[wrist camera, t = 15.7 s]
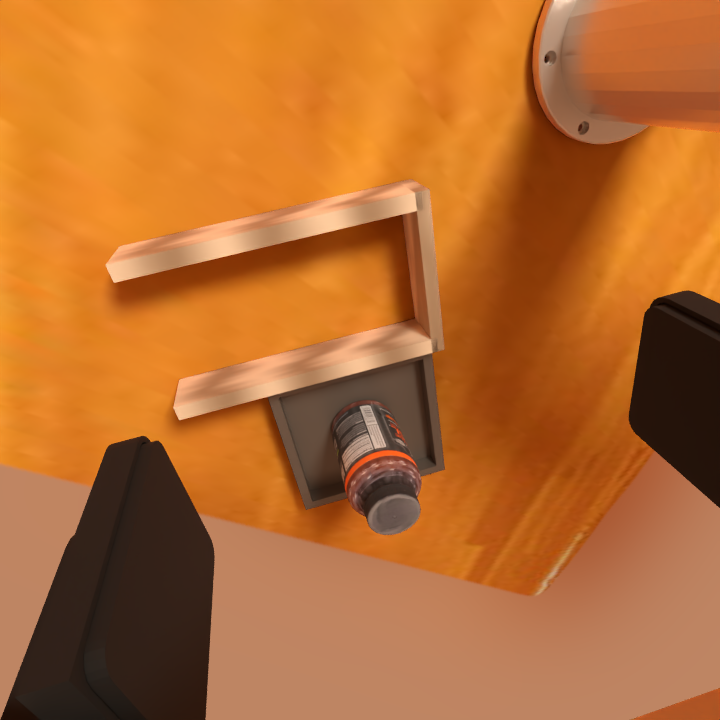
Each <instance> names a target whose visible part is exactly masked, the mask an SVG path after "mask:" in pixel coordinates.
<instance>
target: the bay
mask: <svg viewBox="0 0 720 720" xmlns="http://www.w3.org/2000/svg"><path fill="white" fill-rule="evenodd" d="M398 215H402V218H403V226H404V234H405V242H406V249H407V257H408V265H409V273H410V281H411V289H412V297H413V305H414V313H415V319H411V320H407V321H403V322H400V323H396V324H392V325H388V326H384V327H380V328H376V329H373V330H369V331H365V332H361V333H357V334H353V335H349V336H346V337H342V338H338V339H334V340H330V341H326V342H322V343H319V344H315V345H311V346H307V347H303V348H299V349H295V350H291V351H288V352H284V353H280V354H276V355H272V356H268V357H264V358H261V359H257V360H253V361H249V362H245V363H241V364H237V365H234V366H230V367H226V368H222V369H218V370H214V371H210V372H207V373H203V374H199V375H195V376H191V377H187V378H183V379H179V383H178V388H177V393H176V398H175V402H174V407H173V408H174V410H175V412H176V414H177V416H178V419H179V420H182V419H186V418H190V417H194V416H197V415H201V414H205V413H209V412H212V411H216V410H220V409H224V408H227V407H231V406H235V405H239V404H242V403H246V402H250V401H254V400H257V399H261V398H265V397H269V396H272V395H276V394H280V393H284V392H287V391H291V390H295V389H299V388H302V387H306V386H310V385H314V384H317V383H321V382H325V381H329V380H332V379H336V378H340V377H344V376H347V375H351V374H355V373H359V372H362V371H366V370H370V369H374V368H377V367H381V366H385V365H389V364H392V363H396V362H400V361H404V360H407V359H411V358H415V357H419V356H422V355H426V354H430V353H434V352H437V351H441V350H445V349H444V339H443V328H442V317H441V307H440V296H439V286H438V275H437V264H436V254H435V243H434V232H433V222H432V211H431V201H430V190H429V189H428V188H426V187H424V186H423V185H421V184H419V183H417V182H415V181H414V180H412V179H409V180H405V181H401V182H396V183H392V184H388V185H383V186H379V187H375V188H370V189H366V190H362V191H357V192H353V193H349V194H344V195H340V196H336V197H331V198H327V199H323V200H318V201H314V202H310V203H305V204H301V205H297V206H292V207H288V208H284V209H279V210H275V211H271V212H266V213H262V214H258V215H253V216H249V217H245V218H240V219H236V220H232V221H227V222H223V223H219V224H214V225H210V226H206V227H201V228H197V229H193V230H188V231H184V232H180V233H175V234H171V235H167V236H162V237H158V238H154V239H149V240H145V241H141V242H136V243H132V244H128V245H123V246H119V248H118V249H117V250H116V252H115V253H114V254H113V256H112V257H111V258H110V260H109V261H108V262H107V264H106V267H107V269H108V271H109V273H110V276H111V278H112V280H113V282H114V283H116V282H120V281H124V280H128V279H132V278H137V277H141V276H145V275H149V274H153V273H158V272H162V271H166V270H170V269H175V268H179V267H183V266H187V265H191V264H196V263H200V262H204V261H208V260H212V259H217V258H221V257H225V256H229V255H234V254H238V253H242V252H246V251H250V250H255V249H259V248H263V247H267V246H271V245H276V244H280V243H284V242H288V241H293V240H297V239H301V238H305V237H309V236H314V235H318V234H322V233H326V232H330V231H335V230H339V229H343V228H347V227H351V226H356V225H360V224H364V223H368V222H373V221H377V220H381V219H385V218H389V217H394V216H398Z"/></svg>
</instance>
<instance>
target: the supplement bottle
mask: <svg viewBox="0 0 720 720" xmlns="http://www.w3.org/2000/svg"><path fill="white" fill-rule="evenodd" d="M332 438H333V443H334V447H335V451H336V455H337V459H338V463H339V467H340V471H341V475H342V479H343V483H344V487H345V491H346V494H347V498H348V500H349V502H350V504H351V506H352V507H353V508H354V509H355V510H356V511H357V512H358V513H359V514H361V515H363V516H365V517H366V518H367V522H368V524H369V526H370V528H371V529H372V530H373V531H374V532H376V533H379V534H383V535H393V534H397V533H401V532H403V531H405V530H407V529H408V528H410V527H411V526H412V525H413V524H414V523H415V522H416V521H417V520H418V518H419V515H420V510H421V509H420V504H419V502H418V499H417V497H418V494H419V492H420V489H421V476H420V473H419V470H418V468H417V465H416V463H415V461H414V458H413V456H412V455H411V452H410V450H409V448H408V446H407V444H406V442H405V439H404V437H403V435H402V433H401V431H400V429H399V426H398V424H397V422H396V420H395V417H394V416H393V414H392V413H391V411H390V410H389V409H388V408H387V407H386V406H385V405H383V404H382V403H380V402H377V401H374V400H362V401H357V402H354V403H351V404H349V405H348V406H346V407H344V408H343V409H342V410H341V411H340V412H339V413H338V414H337V416H336V417H335V419H334V421H333V424H332Z"/></svg>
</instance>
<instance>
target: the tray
mask: <svg viewBox="0 0 720 720" xmlns="http://www.w3.org/2000/svg"><path fill="white" fill-rule="evenodd" d="M268 399H269V402H270V405H271V408H272V411H273V414H274V417H275V420H276V423H277V426H278V429H279V432H280V435H281V438H282V440H283V443H284V446H285V449H286V452H287V455H288V458H289V461H290V464H291V467H292V470H293V473H294V476H295V479H296V482H297V485H298V487H299V490H300V493H301V496H302V499H303V502H304V505H305V508H306V510H308V509H311V508H314V507H318V506H321V505H325V504H328V503H332V502H335V501H339V500H342V499H345V498H347V494H346V491H345V487H344V483H343V479H342V475H341V471H340V467H339V463H338V459H337V455H336V451H335V447H334V443H333V438H332V424H333V421H334V419H335V417H336V416H337V414H338V413H339V412H340V411H341V410H342V409H343V408H344V407H346V406H348V405H349V404H351V403H354V402H357V401H362V400H374V401H377V402H380V403H382V404H383V405H385V406H386V407H387V408H388V409H389V410H390V411H391V413H392V414H393V416H394V417H395V420H396V422H397V424H398V426H399V429H400V431H401V433H402V435H403V437H404V439H405V442H406V444H407V446H408V448H409V450H410V452H411V455H412V456H413V458H414V461H415V463H416V465H417V468H418V470H419V473H420V476H424V475H428V474H431V473H435V472H438V471H442V470H445V467H444V458H443V449H442V440H441V431H440V422H439V413H438V404H437V395H436V386H435V377H434V368H433V359H432V353H430V354H426V355H422V356H419V357H415V358H411V359H407V360H404V361H400V362H396V363H392V364H389V365H385V366H381V367H377V368H374V369H370V370H366V371H362V372H359V373H355V374H351V375H347V376H344V377H340V378H336V379H332V380H329V381H325V382H321V383H317V384H314V385H310V386H306V387H302V388H299V389H295V390H291V391H287V392H284V393H280V394H276V395H272V396H269V397H268Z"/></svg>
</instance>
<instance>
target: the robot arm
mask: <svg viewBox="0 0 720 720" xmlns="http://www.w3.org/2000/svg"><path fill="white" fill-rule="evenodd" d="M545 56H546V61H544V58H545ZM532 69H533V78H534V86H535V90H536V93H537V97H538V100H539V103H540V105H541V107H542V109H543V111H544V113H545V115H546V117H547V118H548V119H549V121H550V122H551V123H552V124H553V125H554V127H555V128H556V129H557V130H559V131H560V132H562V133H563V134H564V135H566V136H567V137H569V138H572V139H575V140H577V141H580V142H586V143H591V144H610V143H614V142H619V141H623V140H625V139H627V138H630V137H632V136H634V135H636V134H638V133H640V132H641V131H643V130H644V129H646V128H647V127H649V126H660V127H671V128H681V129H691V130H701V131H711V132H720V0H546V1H545V4H544V7H543V10H542V13H541V16H540V18H539V21H538V24H537V30H536V35H535V40H534V45H533V62H532ZM629 422H630V425H631V428H632V429H633V431H634V432H635V433H636V434H637V435H638V436H639V437H640V438H641V439H642V440H643V441H645V442H646V443H647V444H648V445H649V446H650V447H651V448H652V449H654V450H655V451H656V452H657V453H658V454H659V455H660V456H662V457H663V458H664V459H665V460H666V461H667V462H668V463H669V464H671V465H672V466H673V467H674V468H675V469H676V470H677V471H679V472H680V473H681V474H682V475H683V476H684V477H685V478H686V479H687V480H689V481H690V482H691V483H692V484H693V485H694V486H695V487H697V488H698V489H699V490H700V491H701V492H702V493H703V494H705V495H706V496H707V497H708V498H709V499H710V500H711V501H712V502H714V503H715V504H716V505H717V506H718V507H719V508H720V304H719V303H717V302H715V301H713V300H711V299H708V298H706V297H704V296H702V295H700V294H697V293H695V292H692V291H682V292H678V293H674V294H670V295H667V296H663V297H659V298H657V299H655V300H654V301H653V302H652V304H651V306H650V308H649V309H647V311H646V312H645V315H644V320H643V326H642V333H641V339H640V346H639V352H638V359H637V365H636V372H635V378H634V385H633V391H632V398H631V404H630V411H629ZM213 576H214V548H213V544H212V541H211V538H210V536H209V534H208V532H207V530H206V528H205V526H204V524H203V523H202V521H201V519H200V517H199V515H198V513H197V511H196V509H195V507H194V505H193V503H192V501H191V499H190V497H189V495H188V493H187V492H186V490H185V488H184V486H183V484H182V482H181V480H180V478H179V476H178V474H177V472H176V470H175V468H174V466H173V464H172V462H171V461H170V459H169V457H168V455H167V453H166V451H165V449H164V447H163V445H162V444H161V443H160V442H159V441H154V442H150V440H149V439H148V438H147V437H145V436H140V437H137V438H133V439H129V440H125V441H122V442H118V443H114V444H111V445H109V446H108V448H107V449H106V452H105V454H104V457H103V460H102V463H101V465H100V468H99V471H98V473H97V476H96V479H95V481H94V484H93V487H92V490H91V492H90V495H89V498H88V500H87V503H86V506H85V509H84V511H83V514H82V517H81V519H80V522H79V525H78V527H77V530H76V533H75V535H74V536H73V537H72V538H71V539H70V541H69V543H68V544H67V546H66V548H65V551H64V554H63V556H62V559H61V562H60V564H59V567H58V569H57V572H56V575H55V577H54V580H53V583H52V585H51V588H50V591H49V593H48V596H47V599H46V602H45V604H44V606H43V609H42V612H41V615H40V617H39V620H38V623H37V625H36V628H35V630H34V633H33V635H32V638H31V641H30V643H29V646H28V649H27V652H26V654H25V657H24V659H23V662H22V665H21V667H20V670H19V672H18V675H17V678H16V680H15V683H14V686H13V688H12V691H11V693H10V696H9V699H8V701H7V704H6V707H5V709H4V712H3V715H2V717H1V720H205V717H206V700H207V699H206V698H207V682H208V664H209V647H210V628H211V610H212V593H213ZM631 720H720V688H719V689H716V690H713V691H710V692H707V693H704V694H702V695H699V696H696V697H693V698H690V699H687V700H685V701H682V702H679V703H676V704H674V705H671V706H668V707H665V708H662V709H660V710H657V711H654V712H651V713H648V714H645V715H643V716H640V717H637V718H634V719H631Z"/></svg>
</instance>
